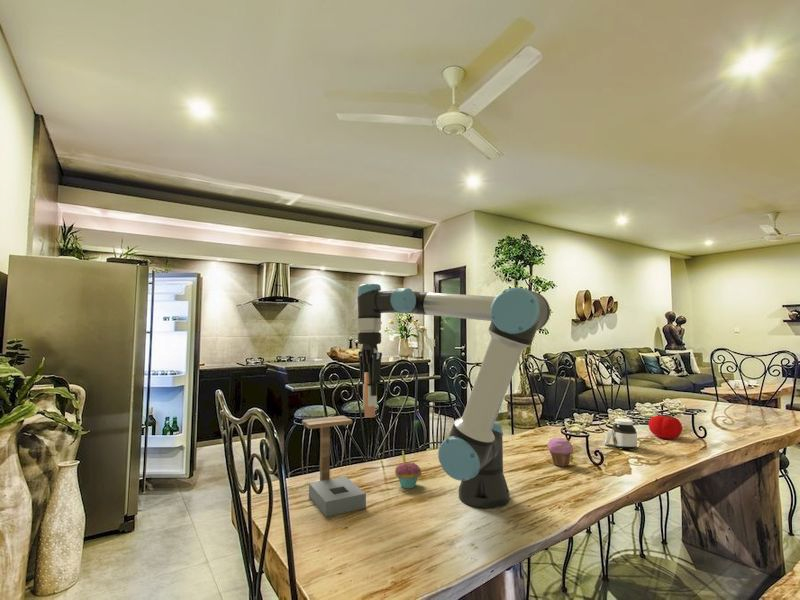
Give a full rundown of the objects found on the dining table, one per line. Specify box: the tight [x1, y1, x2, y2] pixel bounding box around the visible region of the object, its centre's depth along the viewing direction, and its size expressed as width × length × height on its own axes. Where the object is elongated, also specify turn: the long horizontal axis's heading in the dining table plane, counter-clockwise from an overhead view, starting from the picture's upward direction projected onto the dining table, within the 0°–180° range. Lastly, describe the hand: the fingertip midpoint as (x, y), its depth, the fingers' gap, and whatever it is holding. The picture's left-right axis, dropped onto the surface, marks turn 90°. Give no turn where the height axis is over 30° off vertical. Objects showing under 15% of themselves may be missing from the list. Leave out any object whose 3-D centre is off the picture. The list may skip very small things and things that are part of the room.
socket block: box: [308, 475, 367, 518], centre depth 124 cm, size 16×12×4 cm
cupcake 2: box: [547, 437, 574, 468], centre depth 156 cm, size 9×9×10 cm
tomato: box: [648, 414, 683, 440], centre depth 194 cm, size 13×12×11 cm
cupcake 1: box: [394, 448, 422, 489], centre depth 137 cm, size 9×8×12 cm
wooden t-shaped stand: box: [301, 415, 353, 481], centre depth 132 cm, size 8×14×22 cm, turn 118°
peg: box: [364, 372, 376, 419], centre depth 134 cm, size 3×3×14 cm
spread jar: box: [603, 418, 638, 450], centre depth 180 cm, size 12×11×12 cm
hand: (369, 404), depth 134 cm, fingers closed on peg, 3 cm apart
